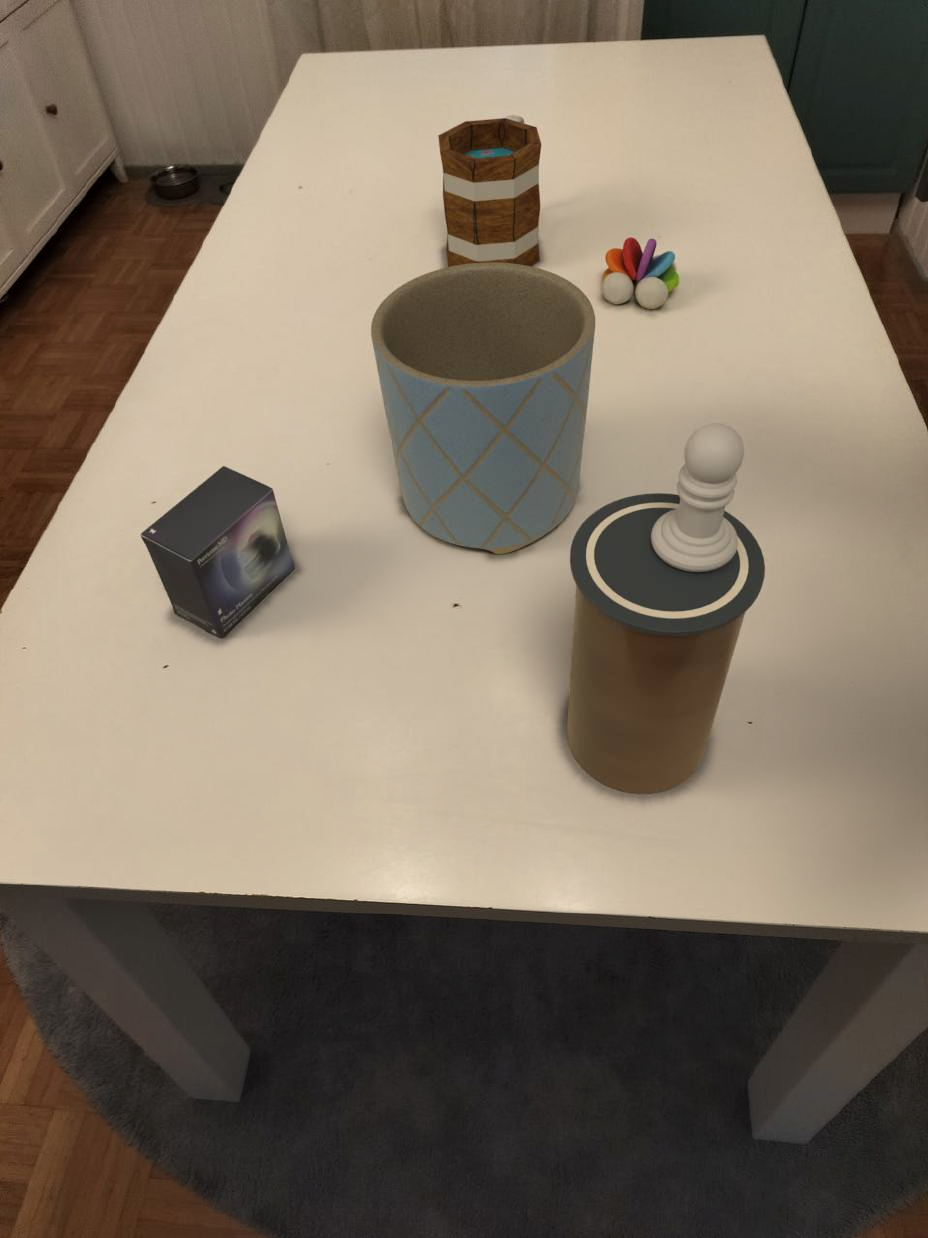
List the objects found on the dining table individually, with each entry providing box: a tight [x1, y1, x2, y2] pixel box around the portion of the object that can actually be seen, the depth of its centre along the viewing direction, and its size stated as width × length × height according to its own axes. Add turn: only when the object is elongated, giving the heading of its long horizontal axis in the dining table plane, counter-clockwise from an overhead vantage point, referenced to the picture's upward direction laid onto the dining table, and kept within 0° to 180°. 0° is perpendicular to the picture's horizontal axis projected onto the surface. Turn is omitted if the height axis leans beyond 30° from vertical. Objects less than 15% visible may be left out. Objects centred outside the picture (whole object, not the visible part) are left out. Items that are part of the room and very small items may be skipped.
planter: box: [370, 262, 596, 555], centre depth 82 cm, size 19×19×20 cm
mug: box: [437, 114, 542, 267], centre depth 117 cm, size 20×14×15 cm
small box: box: [140, 465, 296, 639], centre depth 79 cm, size 11×6×10 cm, turn 147°
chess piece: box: [651, 422, 745, 572], centre depth 52 cm, size 5×5×9 cm
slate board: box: [569, 492, 766, 636], centre depth 55 cm, size 12×12×1 cm
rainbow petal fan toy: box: [601, 236, 680, 310], centre depth 110 cm, size 8×10×7 cm
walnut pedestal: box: [566, 584, 746, 795], centre depth 63 cm, size 11×11×20 cm
